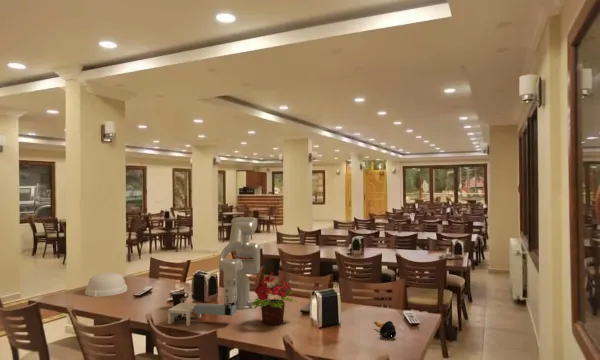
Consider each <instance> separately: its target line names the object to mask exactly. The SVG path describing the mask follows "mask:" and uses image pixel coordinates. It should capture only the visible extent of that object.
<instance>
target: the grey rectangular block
mask: <svg viewBox="0 0 600 360" xmlns="http://www.w3.org/2000/svg"><path fill="white" fill-rule="evenodd" d="M195 304H196V305H194V311H193V314H196V315H198V314H201V315H211V316H216V315H217V316H228V317H229V316H231V317H232V316H233V315H235V314H236V313H237V308H236V305H231V304H230V315H225V306H224V303H222V304H221V303H220V304H219V303H201V302H198V303H195ZM228 306H229V304H228Z"/></svg>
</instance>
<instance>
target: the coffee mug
mask: <svg viewBox="0 0 600 360" xmlns="http://www.w3.org/2000/svg"><path fill="white" fill-rule="evenodd" d="M185 296H186V297H185ZM171 297H172V305H173V306H172V307H174V306H176V305H178V304H180V303H185V302H186V300H187V299H188V297H189V293H188V292H186V291H185V290H176V291H173V292H171Z"/></svg>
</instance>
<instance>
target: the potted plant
mask: <svg viewBox="0 0 600 360" xmlns="http://www.w3.org/2000/svg"><path fill="white" fill-rule="evenodd" d="M272 276H274V273H273V272H272V271H271V273H270V274H269V275H266V276H264V278H262V280H261V282H259V283H258V284H257V286H256V288H255V290H254V292H255V294H256V296H257V298H255V299H254V301H255V302H253V304H254V305H252V307H253V306H254V307H253V310H256V309H257V308H258V307H260V311H261V318H262V321H261V322H262V323H261V324H262V325H264V326H267V325H268V327H275V326H277V327H278V326H280V325H283V324H284V316H285V315H284V313H285V306H286V305H285V301H287V302H288V303H291V302H292V303H293V302H297V300H296V299H294V298H292V297H288V296H289V295H290V294H292V293H294V291H293V290H292V289H291V288H290V285H289V283H288V281H287V280H286V279H285V278H284V281H280V283H281V284H283V285H281V284H279V285H277V286H273V284H272V282H273V281H275V280H276V278H275V277H272ZM268 283H270V285H271V287H272V289H271V287H270V286H268ZM286 288H287V289H289V290H290V292H288V293H286ZM275 295H276V296H275ZM272 296H275V298H272ZM270 297H271V299H270ZM278 298H279V299H278Z"/></svg>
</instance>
